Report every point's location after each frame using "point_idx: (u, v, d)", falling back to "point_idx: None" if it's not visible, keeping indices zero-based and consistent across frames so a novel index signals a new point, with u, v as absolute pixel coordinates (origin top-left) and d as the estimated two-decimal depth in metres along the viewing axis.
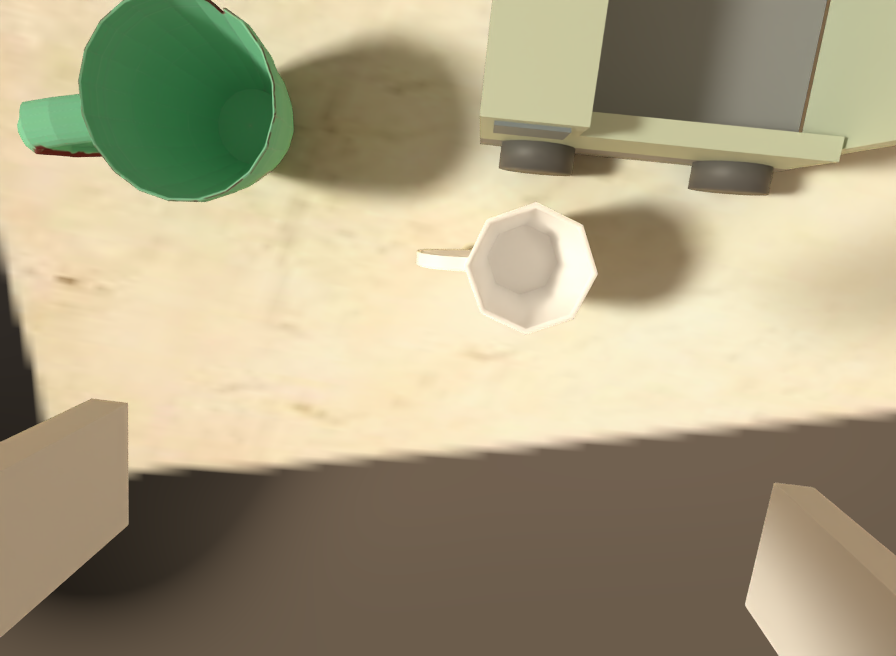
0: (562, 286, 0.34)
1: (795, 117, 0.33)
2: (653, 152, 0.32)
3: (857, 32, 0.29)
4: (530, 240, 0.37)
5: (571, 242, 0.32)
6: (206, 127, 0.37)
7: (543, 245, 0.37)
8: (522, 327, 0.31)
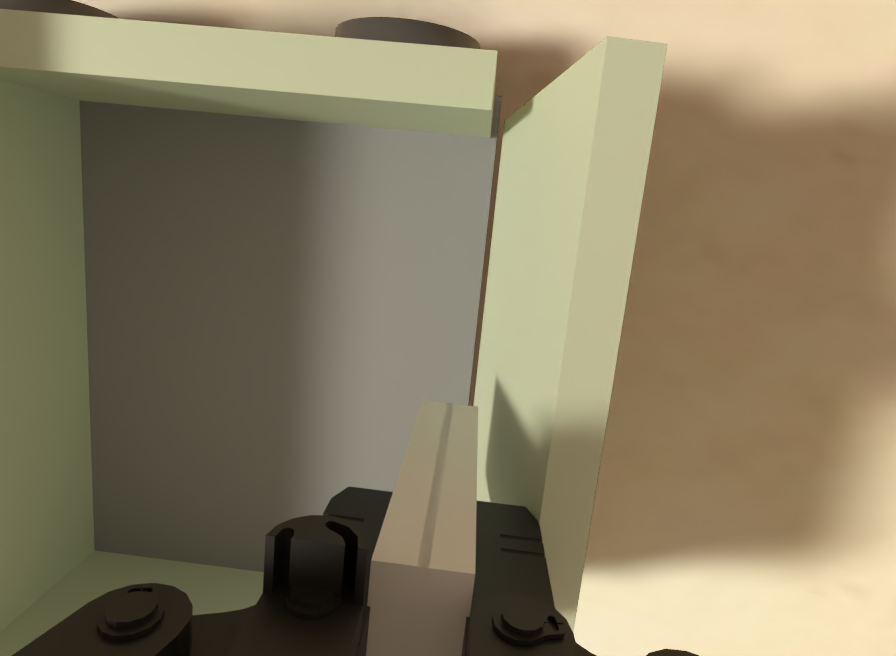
0: None
1: None
2: None
3: None
4: None
5: None
6: None
7: None
8: None
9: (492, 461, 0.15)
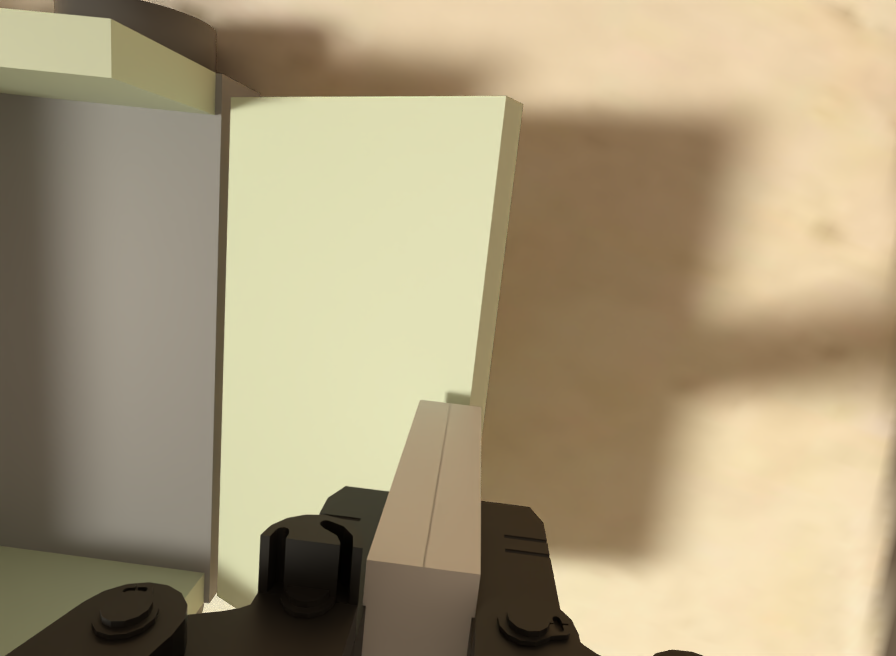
0: None
1: (201, 530, 0.20)
2: None
3: (292, 475, 0.18)
4: None
5: None
6: None
7: None
8: None
9: (320, 421, 0.17)
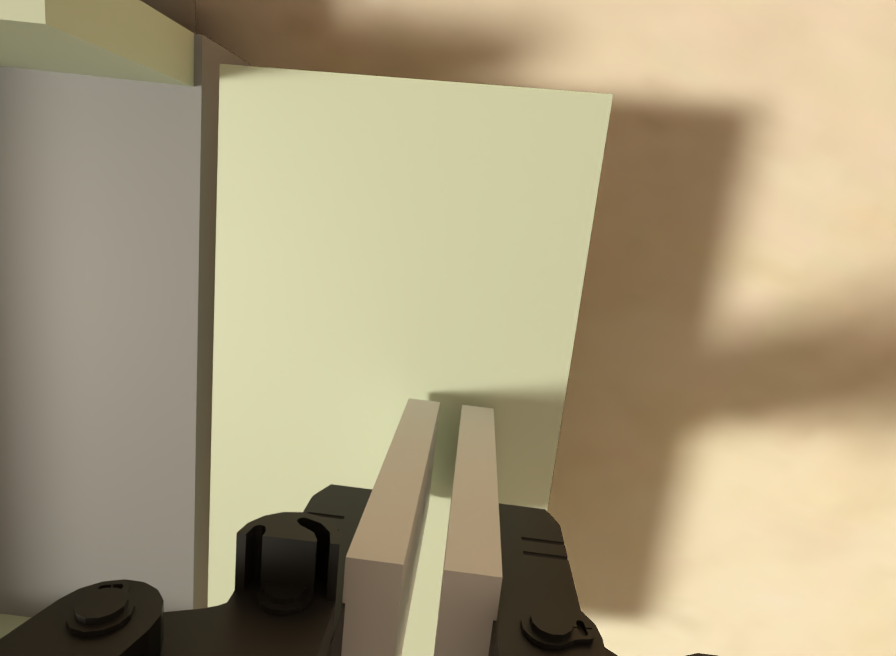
0: None
1: (182, 587, 0.17)
2: None
3: None
4: None
5: None
6: None
7: None
8: None
9: (365, 446, 0.15)
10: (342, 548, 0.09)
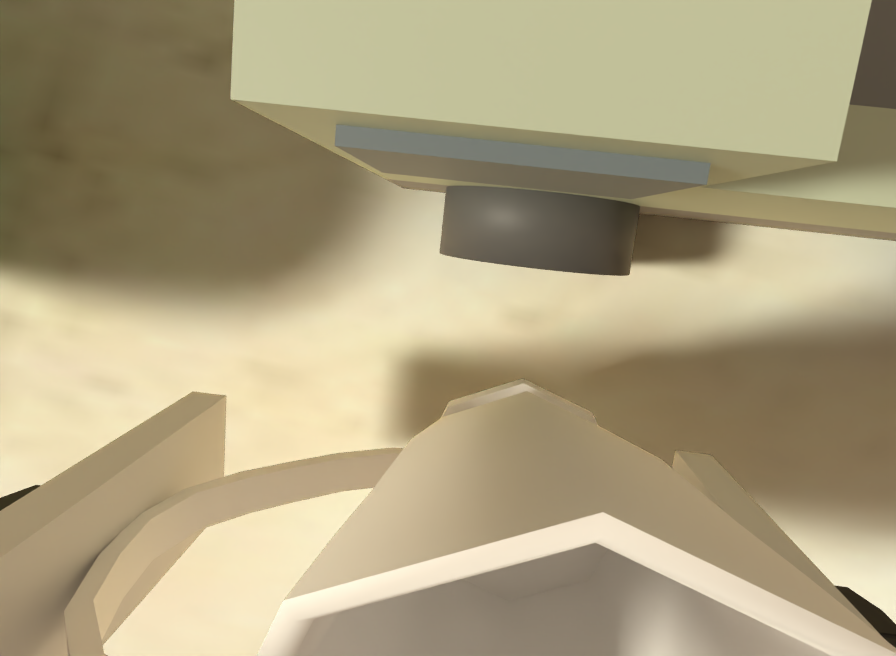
0: None
1: None
2: (883, 226, 0.11)
3: None
4: None
5: None
6: None
7: None
8: None
9: None
10: None
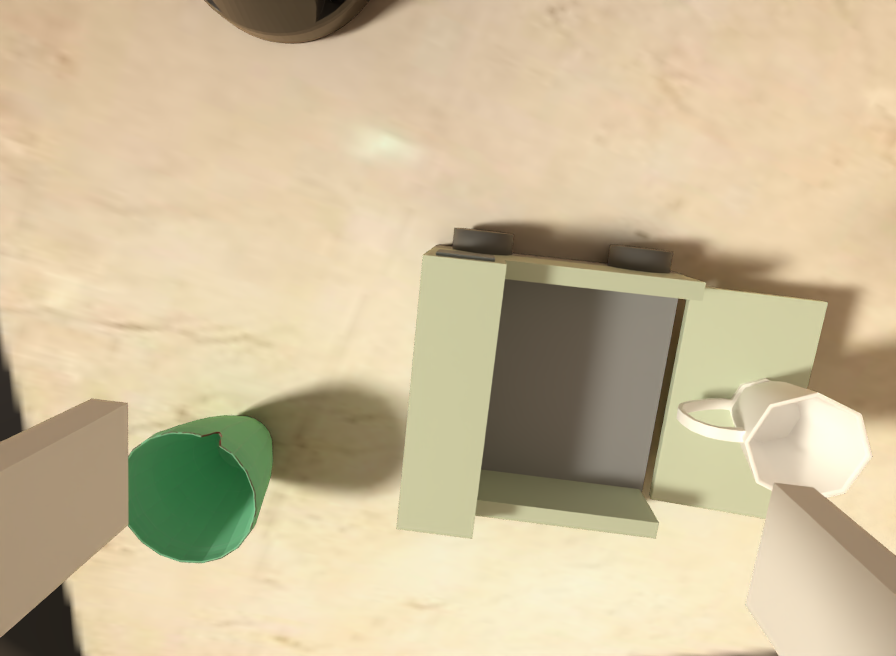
0: (819, 451, 0.37)
1: (641, 469, 0.45)
2: None
3: None
4: None
5: (838, 419, 0.36)
6: (207, 449, 0.48)
7: None
8: None
9: None
10: None
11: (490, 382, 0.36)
